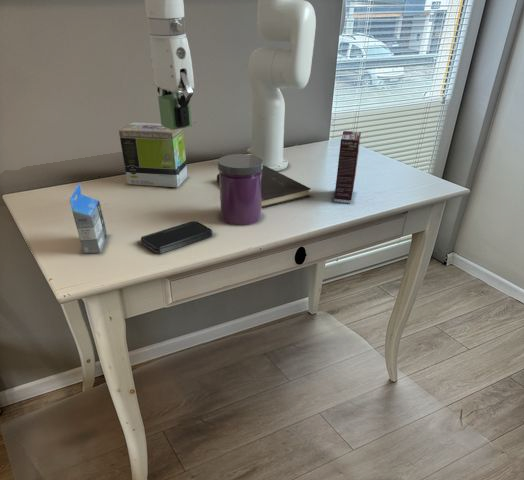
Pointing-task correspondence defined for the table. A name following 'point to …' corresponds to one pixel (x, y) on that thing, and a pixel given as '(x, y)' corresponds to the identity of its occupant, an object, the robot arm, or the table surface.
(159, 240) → the phone
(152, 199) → the table surface
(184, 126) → the robot arm
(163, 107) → the green block
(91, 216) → the label tape box
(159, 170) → the tea box
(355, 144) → the supplement box
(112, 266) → the table surface
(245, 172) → the jar
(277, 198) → the hardcover book
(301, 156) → the table surface
